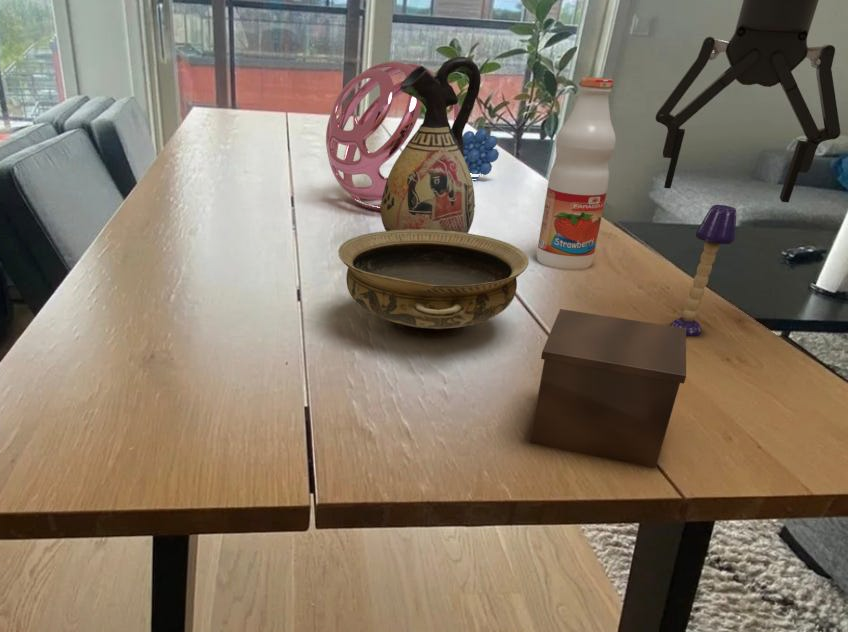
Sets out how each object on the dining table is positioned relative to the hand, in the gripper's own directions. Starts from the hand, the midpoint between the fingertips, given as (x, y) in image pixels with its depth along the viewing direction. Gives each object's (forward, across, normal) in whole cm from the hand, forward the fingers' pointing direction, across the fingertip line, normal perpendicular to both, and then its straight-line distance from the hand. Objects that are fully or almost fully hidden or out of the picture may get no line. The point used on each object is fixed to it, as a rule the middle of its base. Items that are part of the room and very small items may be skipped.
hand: (724, 193), depth 95 cm
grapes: (+19, +50, -87) cm, 102 cm away
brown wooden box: (+18, +9, +35) cm, 40 cm away
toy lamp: (+18, 0, 0) cm, 18 cm away
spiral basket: (+19, +60, -49) cm, 79 cm away
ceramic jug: (+19, +42, -19) cm, 49 cm away
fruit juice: (+19, +20, -26) cm, 38 cm away
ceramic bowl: (+19, +33, +14) cm, 40 cm away
